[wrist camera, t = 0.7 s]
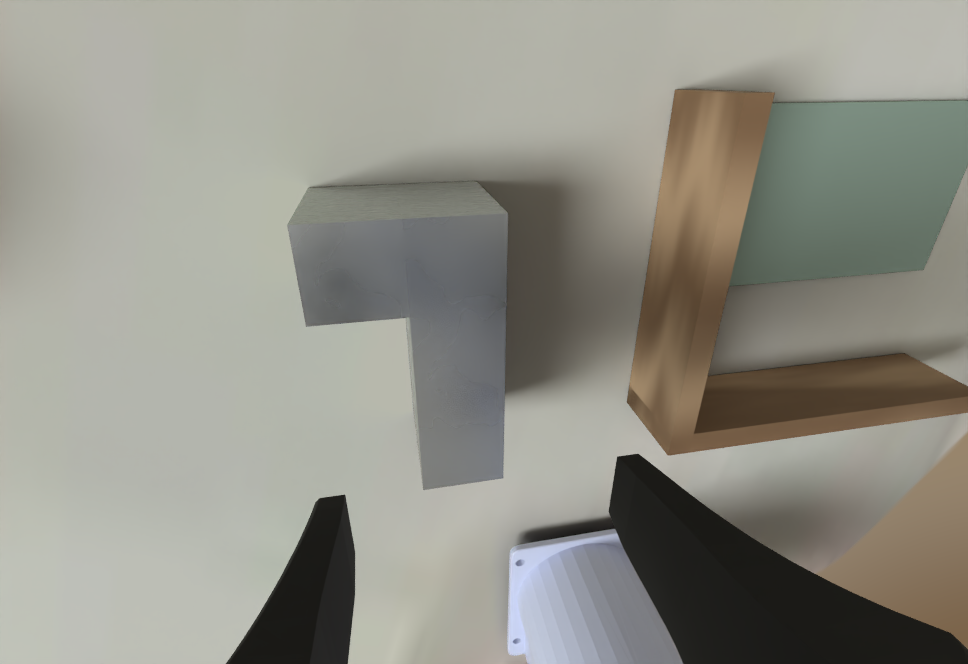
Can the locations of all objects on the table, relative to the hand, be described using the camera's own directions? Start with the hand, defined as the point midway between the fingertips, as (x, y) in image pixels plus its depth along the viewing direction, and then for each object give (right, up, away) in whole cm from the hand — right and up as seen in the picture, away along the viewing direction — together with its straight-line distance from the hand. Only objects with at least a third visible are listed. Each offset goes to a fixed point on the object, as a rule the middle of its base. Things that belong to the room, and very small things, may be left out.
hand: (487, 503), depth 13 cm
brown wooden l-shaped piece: (+15, +8, +10) cm, 20 cm away
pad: (+15, +10, +9) cm, 20 cm away
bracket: (-3, +5, +7) cm, 10 cm away
